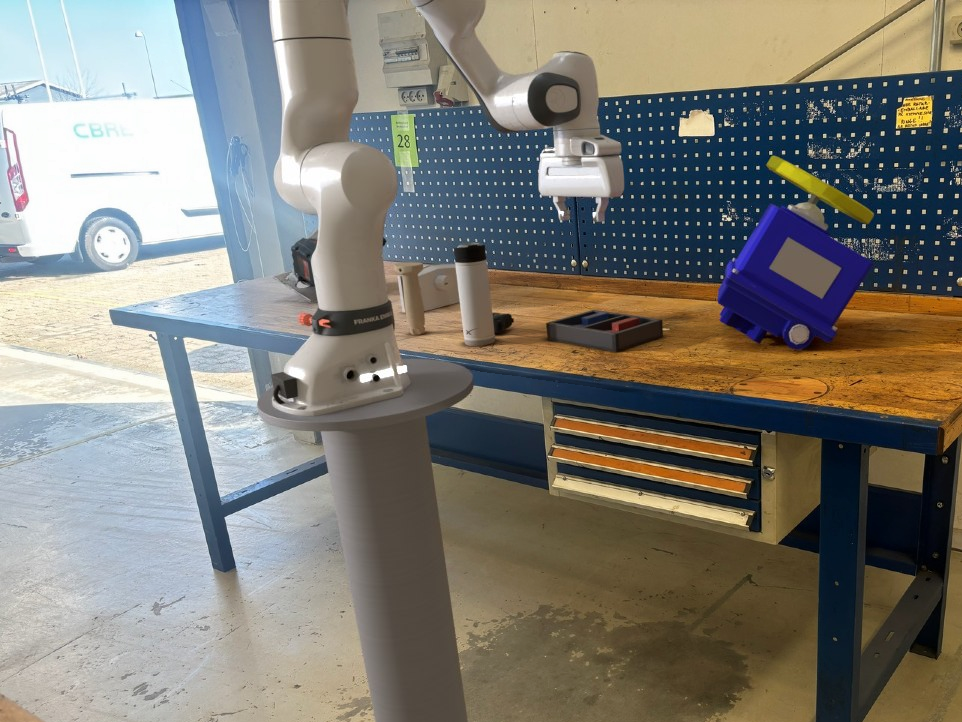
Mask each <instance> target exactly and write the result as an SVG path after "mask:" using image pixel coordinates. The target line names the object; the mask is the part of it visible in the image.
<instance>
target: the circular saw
mask: <svg viewBox="0 0 962 722" xmlns="http://www.w3.org/2000/svg"><path fill="white" fill-rule="evenodd" d="M317 240H318V227H317V228H315V229H314V230H313V231H311V232H309V234H308V235H307V236H306V237H302V238H301V239H299V240H297V241H296V242H295V243H294V245H291V247H290V251H291V258H292V261H293V262H292V266H293V267H290V271H287V272H284V273H281V274H276V275H273V276H272V278H273V279H274V280H276V281H278V282H279V283H281V284H283V285H285V287H287V288H288V289H290V290H292V291H293V292H295V293H296V294H298V295H299V296H301V297H303V299H306V300H307V301H309V302H310V303H313V302H318V299H317V294H316V288H315V283H314V277H313V272H312V266H311V258H312V255H313V253H314V251H315V249H316V246H317ZM386 243H387V239H386V238H385V237H384V236H383V247H384V246H386ZM299 282H300V283H301V284H302V285H305V286H306V287H298V283H299Z"/></svg>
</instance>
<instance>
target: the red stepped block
mask: <svg viewBox="0 0 962 722" xmlns="http://www.w3.org/2000/svg"><path fill="white" fill-rule="evenodd" d="M638 325H639V318H635V317H631V318H627V319H624V320H621V321H617V322H614V323H612V330H607V331H608V332H614V333H615V332H619V331H622V330H625V329H628V328H631V327H635V326H638Z"/></svg>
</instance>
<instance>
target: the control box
mask: <svg viewBox="0 0 962 722" xmlns="http://www.w3.org/2000/svg"><path fill="white" fill-rule="evenodd" d="M765 166H766V167H767V168H768V170H769V171H771V172H773V173H775V174H776V175H778V176H780V177H781V178H782V179H784V180H786V181H788V182H789V183H791V184H793V185H794V186H796V187H798V188H799V189H801V190H803V191H804V192H806V193H808V194H810V195H811V196H810V197H809V199H808V200H807V201H806V202H800V203H797V204H795V205H794V204H793V203H791V204H788V206H787V207H785V205H782V206H781V207H779V206H777V205H775V204H774V203H769V204H768V206H767V208H766V209H765V211H764V213H763V214H762V216H761V218H760V220H759V221H758V223H757V225H756V226H755V228H754V230H753V231H752V233H751V235H750V237H749V238H748V240H747V241H746V243H745V245H744V247H742V250H741V251H740V253H739V255H738V257H737V258H735V257H733V258H732V260H729V262H728V263H727V265H726V266H725V268H724V278H723V280H722V282H721V284H720V286H719V288H718V291H717V304H718V305H720V306H721V307H722V309H721V311H720V313H719V316H720V318H719V319H718V320H719V322H721V323H722V324H724V325H725V326H728V327H730V328H733V329H734V330H736V331H738V332H739V333H741V334H743V335H745V336H746V337H748V338H749V339H751V341H753V342H754V343H757V344H761V343H762V341H764V338H765V336H766V335H767V333H768V334H771V335H772V336H773V337H776V338H778V337H779V336H782V339H783V340H784V342H785V344H786V345H787V347H788V348H790V349H793V350H797V351H799V350H804V349H806V348H807V347H809V345H810V344H811V343H812V341H813V340H814V339H815V337H816V338H818V339H820V340H822V341H824V342H825V343H828V344H830V343H832V341H833V340H834V339H835V337H836V335H837V330H838V329H839V328H838V327H837V326H835V325H836V323H837V321H838V320H839V319H840V317H841V316H842V314H843V312H844V311H845V310H846V308H847V306H848V305H849V303H850V302H851V300H852V299H853V297H854V295H855V294H856V292H857V291H858V289H859V288H860V286H861V284H862V283H863V281H864V280H865V278H866V277H867V275H868V274H869V272H870V270H871V269H872V268H873V266H874V263H873V262H872V261H871V260H869V259H868V258H867V257H865V256H863V255H862V254H860V253H859V252H857V251H855V250H854V249H852V248H850V247H849V246H847V245H845V244H843V243H841V242H840V241H838V240H836V239H835V238H833V237H831V236H830V234H831V233H830V232H828V231H827V230H828V228H829V225H828V224H827V223H825V217H824V213H823V211H822V210H821V209H820V208H819V207H818V206H817V204H818V202H819V201H822V202H823V203H825V204H826V205H828V206H830V207H831V208H834V209H835V210H837V211H839V212H841V213H843V214H845V215H846V216H849V217H850V218H852V219H854V220H856V221H858V222H860V223H862V224H864V225H866V226H867V225H868V224H870V223H871V221H872V220H873V218H874V216H875V213H874V212H873V211H871V210H870V209H869V208H868V207H866V206H865V205H863V204H862V203H860V202H858V201H857V200H855V199H853V198H852V197H850V196H849V195H847V194H846V193H844V192H842V191H840V190H839V189H837V188H835V187H833V186H832V185H830V184H829V183H827V182H825V181H823V180H821V179H820V178H819V177H816V176H814V175H812V174H811V173H809V172H807V171H805V170H803V169H802V168H800V167H798V166H796V165H795V164H792V163H791V162H789V161H787V160H785V159H783V158H780V157H779V156H776V155H771V157H770V158H769V160H768V161H767V163H766V164H765Z"/></svg>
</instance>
